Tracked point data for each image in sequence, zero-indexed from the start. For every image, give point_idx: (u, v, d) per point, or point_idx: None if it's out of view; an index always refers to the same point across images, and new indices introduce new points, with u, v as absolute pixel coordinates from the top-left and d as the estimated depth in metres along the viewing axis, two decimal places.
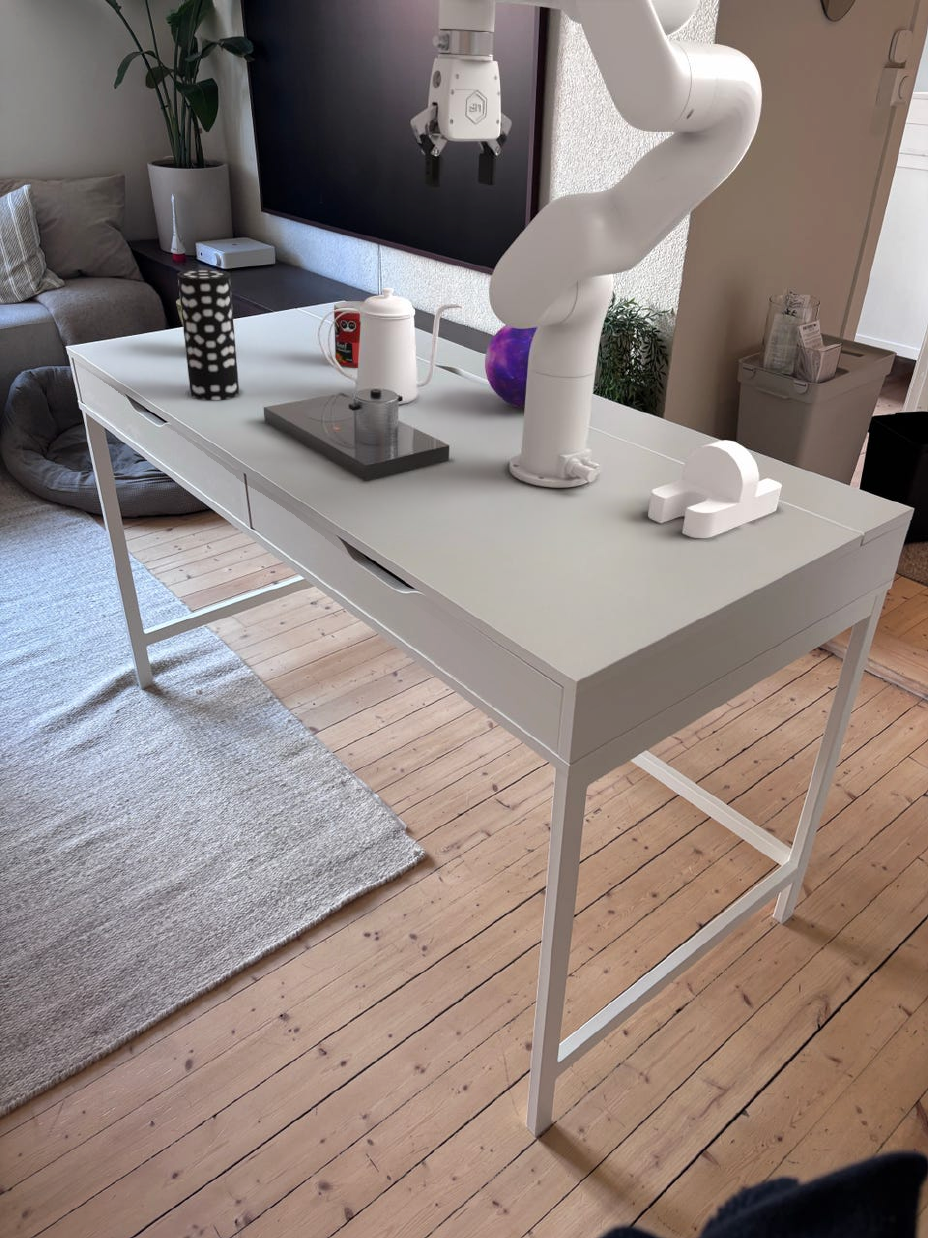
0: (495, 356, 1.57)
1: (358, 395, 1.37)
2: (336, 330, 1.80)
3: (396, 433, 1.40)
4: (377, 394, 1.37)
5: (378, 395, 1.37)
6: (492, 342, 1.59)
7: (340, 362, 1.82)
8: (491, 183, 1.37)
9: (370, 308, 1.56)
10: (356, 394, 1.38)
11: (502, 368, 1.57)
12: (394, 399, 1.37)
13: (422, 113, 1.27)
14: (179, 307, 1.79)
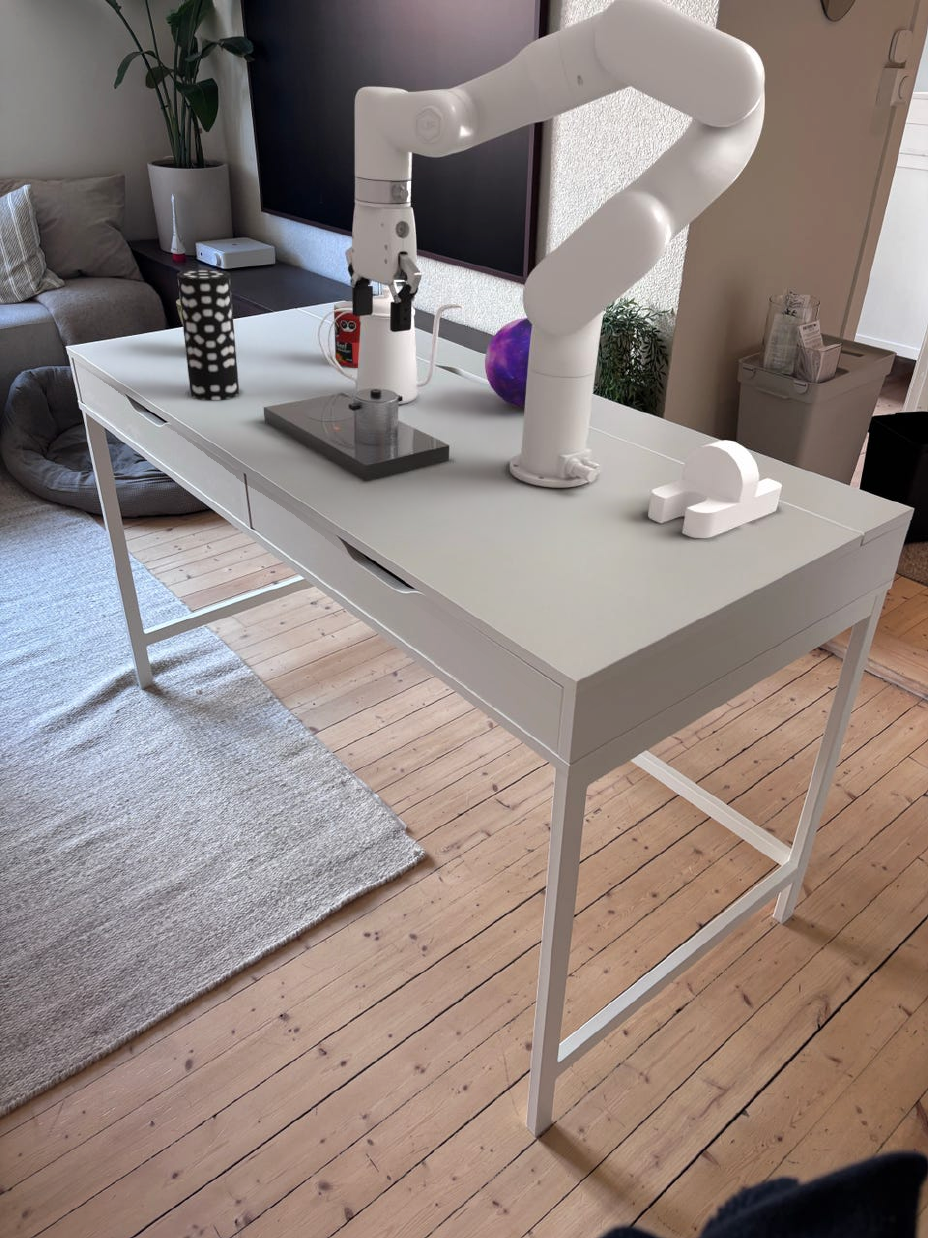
0: (495, 356, 1.57)
1: (358, 395, 1.37)
2: (336, 330, 1.80)
3: (396, 433, 1.40)
4: (377, 394, 1.37)
5: (378, 395, 1.37)
6: (492, 342, 1.59)
7: (340, 362, 1.82)
8: (372, 312, 1.38)
9: None
10: (356, 394, 1.38)
11: (502, 368, 1.57)
12: (394, 399, 1.37)
13: (411, 265, 1.25)
14: (179, 307, 1.79)
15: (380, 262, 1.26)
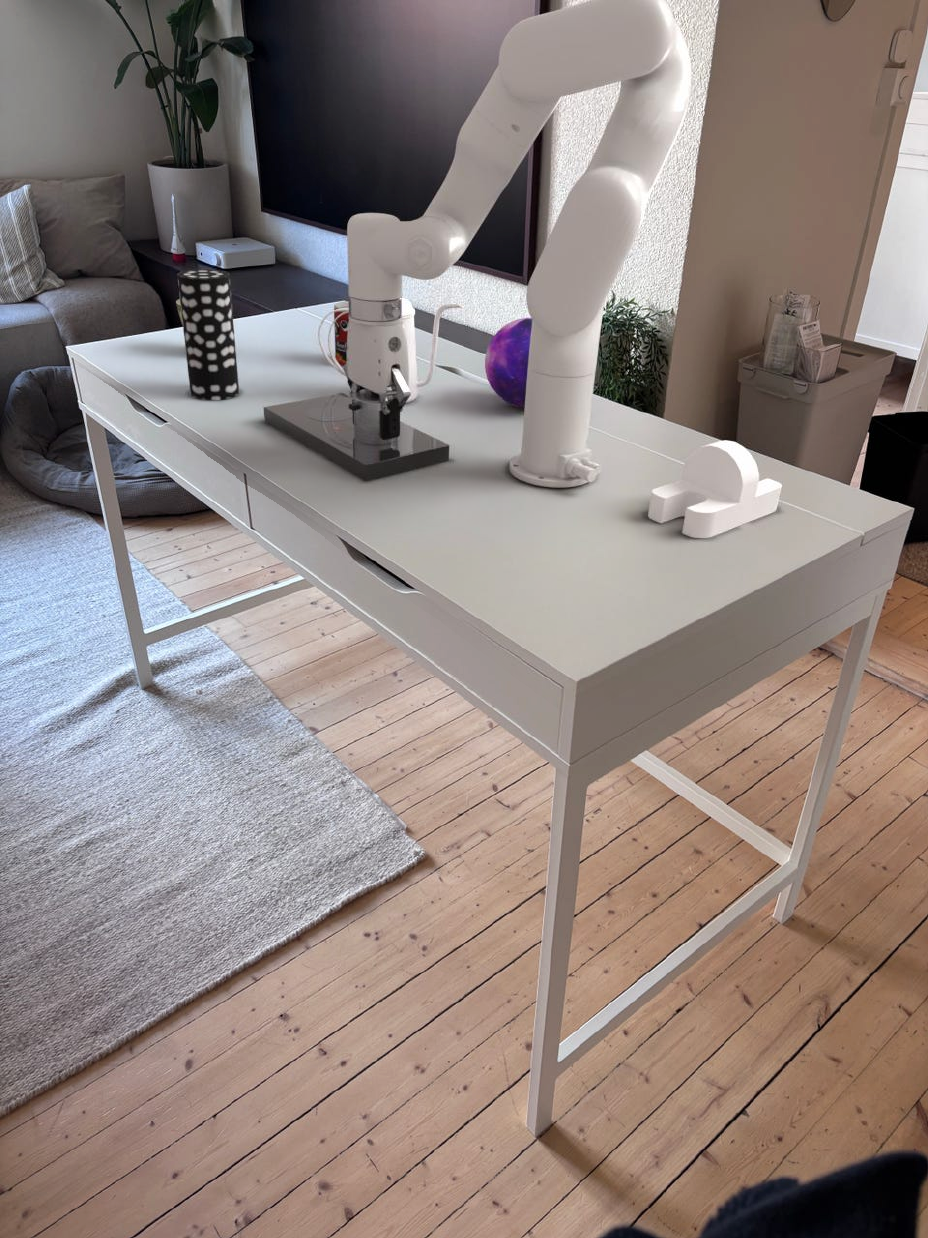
0: (495, 356, 1.57)
1: (358, 395, 1.37)
2: (336, 330, 1.80)
3: None
4: (377, 394, 1.37)
5: (378, 395, 1.37)
6: (492, 342, 1.59)
7: (340, 362, 1.82)
8: None
9: None
10: (356, 394, 1.38)
11: (502, 368, 1.57)
12: None
13: (402, 383, 1.32)
14: (179, 307, 1.79)
15: (374, 374, 1.33)
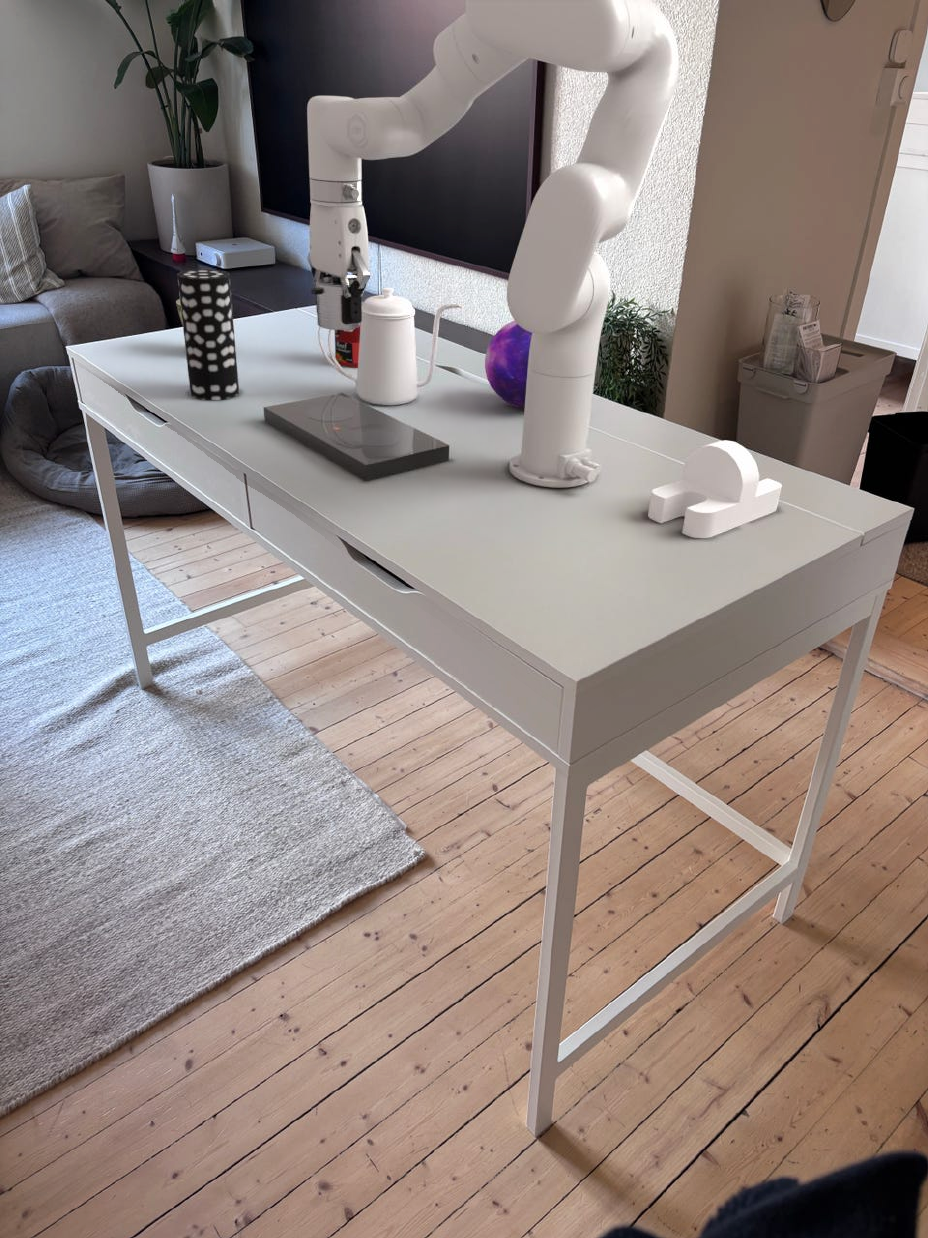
0: (495, 356, 1.57)
1: (320, 281, 1.42)
2: (336, 330, 1.80)
3: None
4: (339, 279, 1.42)
5: (340, 281, 1.42)
6: (492, 342, 1.59)
7: (340, 362, 1.82)
8: None
9: (370, 308, 1.56)
10: (319, 280, 1.42)
11: (502, 368, 1.57)
12: None
13: (362, 264, 1.36)
14: (179, 307, 1.79)
15: (335, 256, 1.37)
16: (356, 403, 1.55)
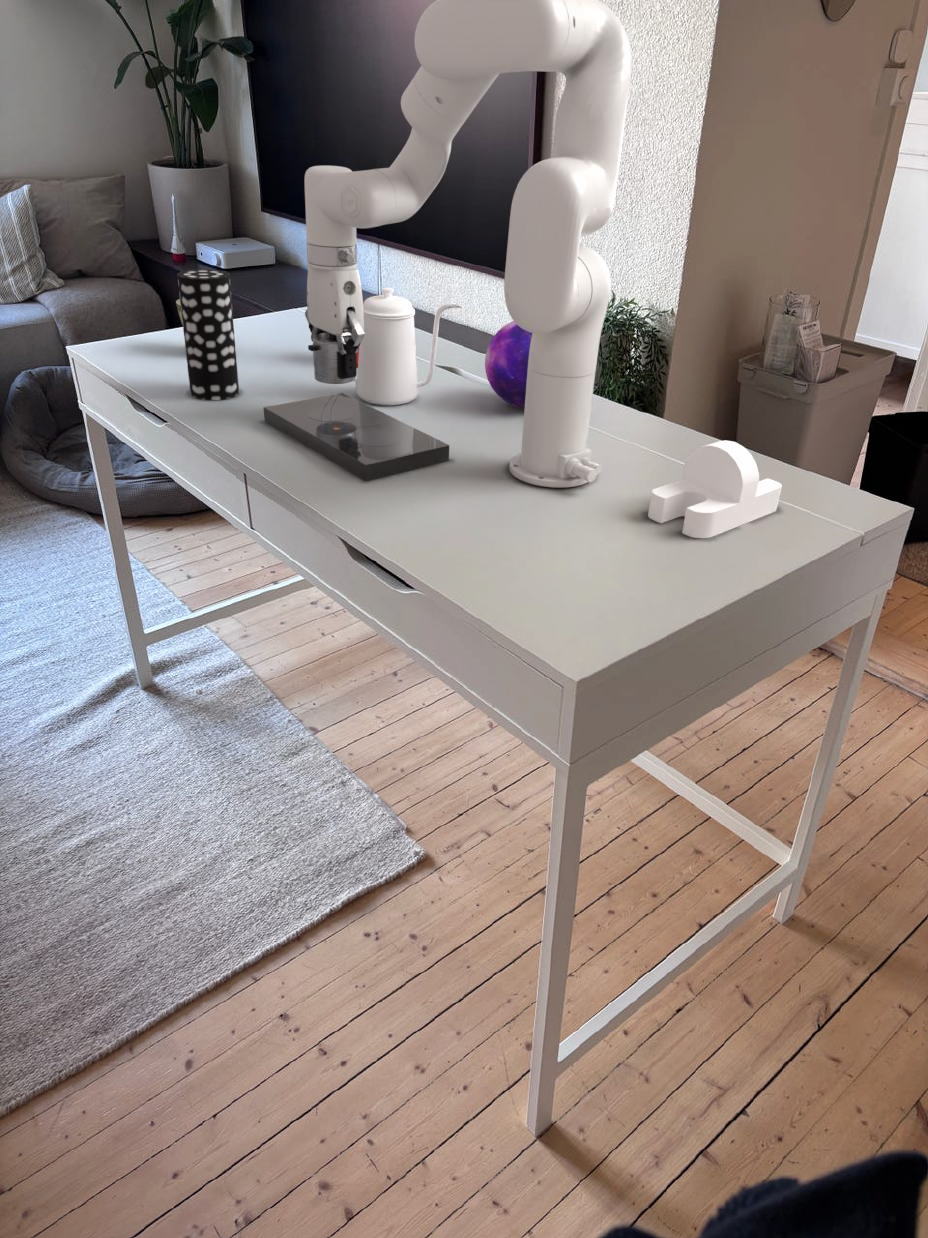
0: (495, 356, 1.57)
1: (317, 337, 1.48)
2: None
3: None
4: (335, 336, 1.48)
5: None
6: (492, 342, 1.59)
7: None
8: None
9: (370, 308, 1.56)
10: (315, 336, 1.49)
11: (502, 368, 1.57)
12: None
13: (356, 324, 1.43)
14: (179, 307, 1.79)
15: (331, 316, 1.44)
16: (356, 403, 1.55)
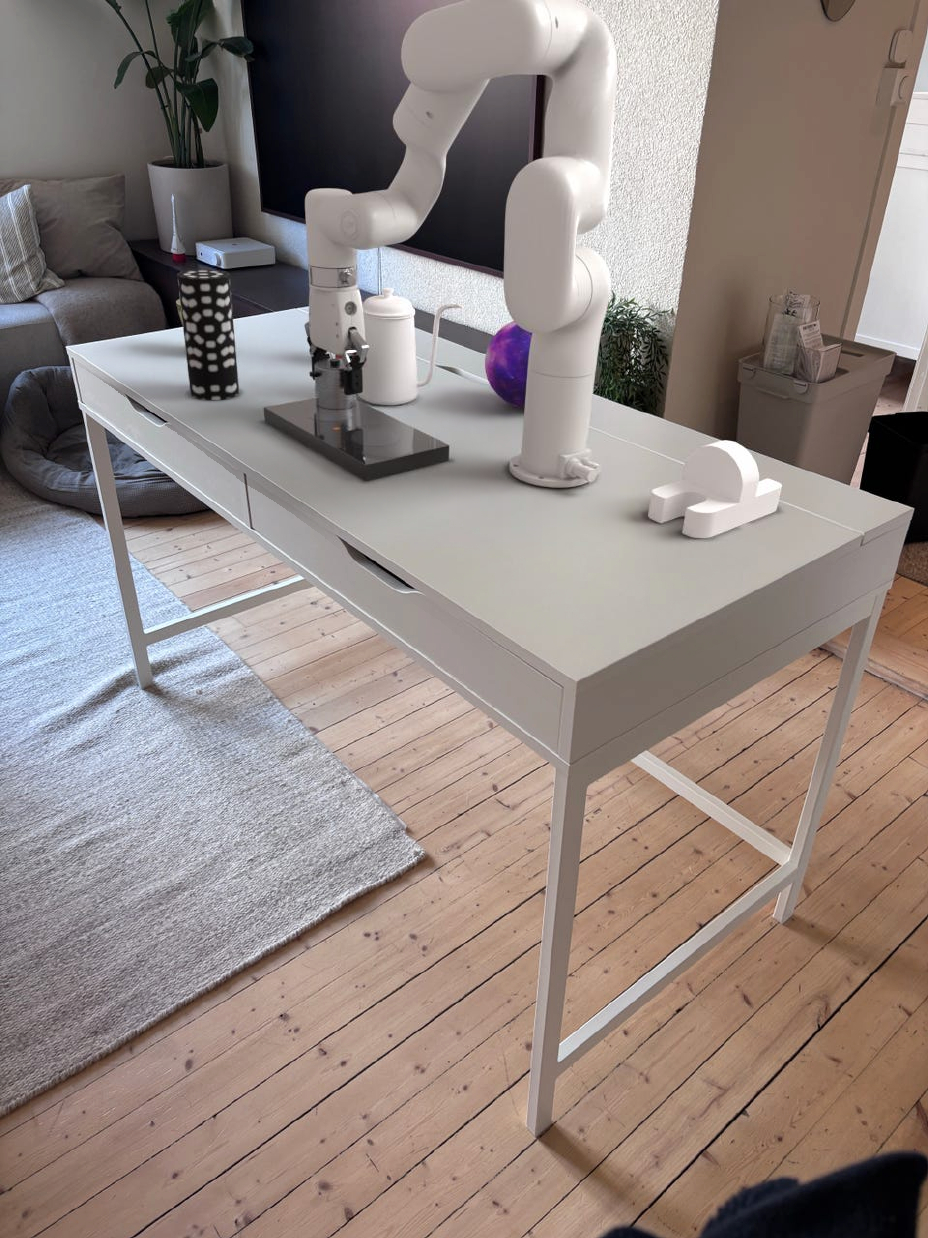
0: (495, 356, 1.57)
1: (318, 364, 1.50)
2: None
3: (354, 399, 1.53)
4: (336, 363, 1.50)
5: (337, 364, 1.50)
6: (492, 342, 1.59)
7: None
8: None
9: (370, 308, 1.56)
10: (317, 363, 1.51)
11: (502, 368, 1.57)
12: None
13: (359, 338, 1.44)
14: (179, 307, 1.79)
15: (333, 336, 1.45)
16: (356, 403, 1.55)
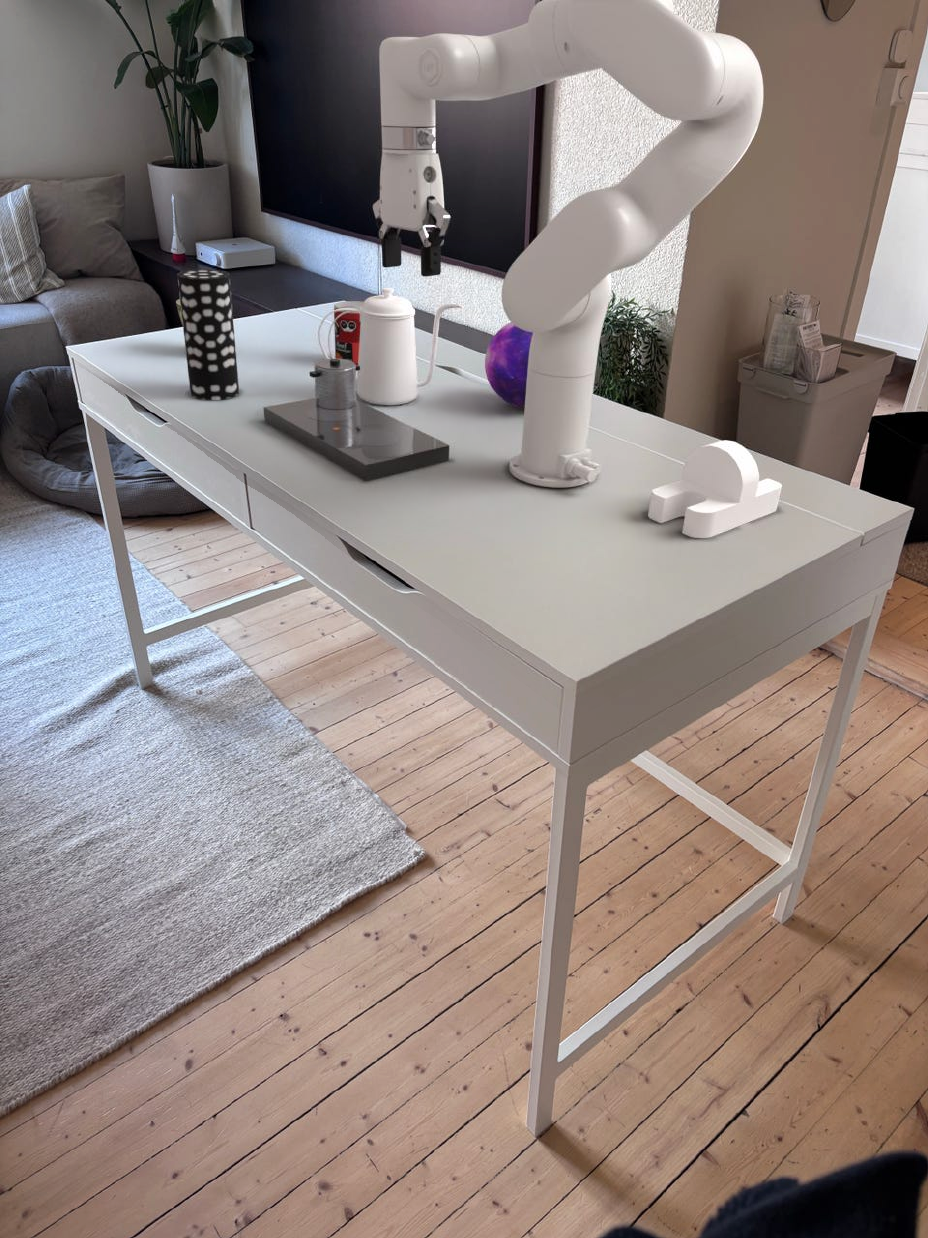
0: (495, 356, 1.57)
1: (318, 364, 1.50)
2: (336, 330, 1.80)
3: (354, 399, 1.53)
4: (336, 363, 1.50)
5: (337, 364, 1.50)
6: (492, 342, 1.59)
7: None
8: (400, 264, 1.42)
9: (370, 308, 1.56)
10: (317, 363, 1.51)
11: (502, 368, 1.57)
12: (351, 367, 1.50)
13: (440, 208, 1.29)
14: (179, 307, 1.79)
15: (409, 208, 1.31)
16: (356, 403, 1.55)
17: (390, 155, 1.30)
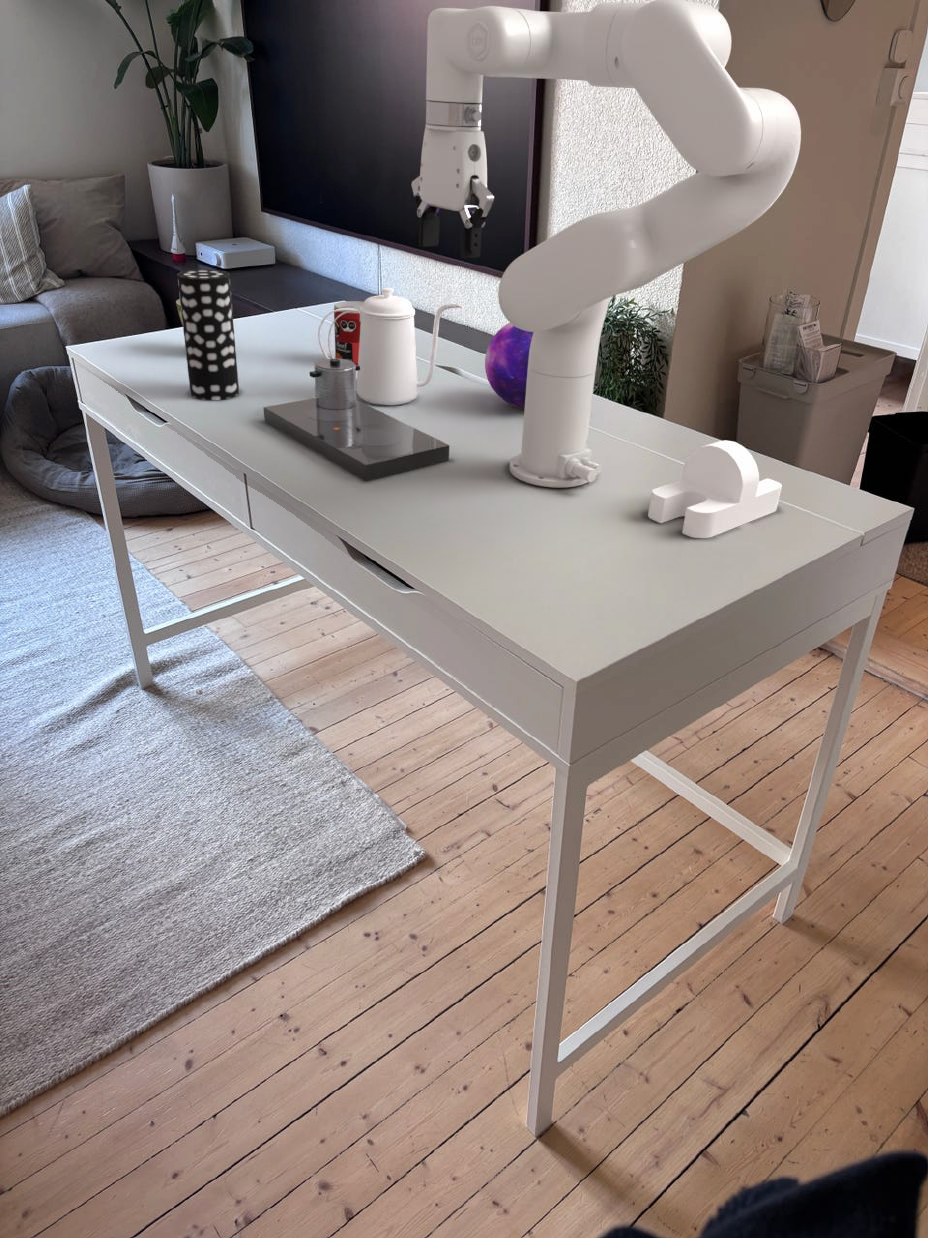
0: (495, 356, 1.57)
1: (318, 364, 1.50)
2: (336, 330, 1.80)
3: (354, 399, 1.53)
4: (336, 363, 1.50)
5: (337, 364, 1.50)
6: (492, 342, 1.59)
7: None
8: (437, 244, 1.39)
9: (370, 308, 1.56)
10: (317, 363, 1.51)
11: (502, 368, 1.57)
12: (351, 367, 1.50)
13: (483, 188, 1.25)
14: (179, 307, 1.79)
15: (451, 187, 1.27)
16: (356, 403, 1.55)
17: (434, 131, 1.26)
